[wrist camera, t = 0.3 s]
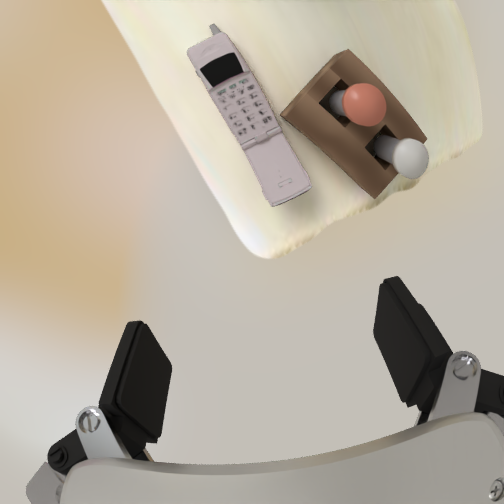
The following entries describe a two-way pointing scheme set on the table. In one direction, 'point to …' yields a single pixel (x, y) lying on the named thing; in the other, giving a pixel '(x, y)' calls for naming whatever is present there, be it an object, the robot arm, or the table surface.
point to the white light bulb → (402, 155)
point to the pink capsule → (359, 104)
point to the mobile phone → (249, 117)
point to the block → (350, 123)
